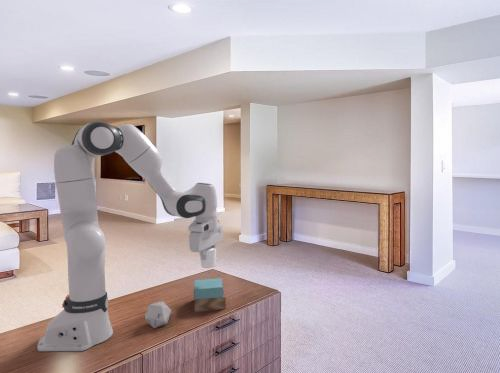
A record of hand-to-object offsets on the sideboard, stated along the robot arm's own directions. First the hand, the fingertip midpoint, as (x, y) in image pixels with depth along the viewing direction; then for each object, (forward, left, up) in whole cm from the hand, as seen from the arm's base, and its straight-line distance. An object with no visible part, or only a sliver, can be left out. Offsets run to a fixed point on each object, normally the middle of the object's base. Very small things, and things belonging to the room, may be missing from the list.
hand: (208, 257), depth 144 cm
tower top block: (0, 0, -15) cm, 15 cm away
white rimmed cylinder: (0, 0, -4) cm, 4 cm away
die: (-19, -14, -20) cm, 31 cm away
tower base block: (0, 0, -20) cm, 20 cm away
